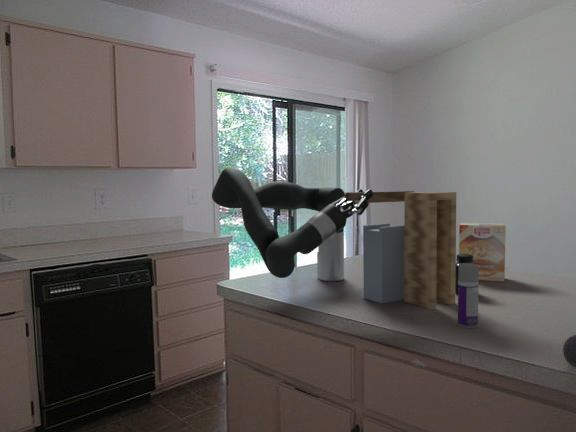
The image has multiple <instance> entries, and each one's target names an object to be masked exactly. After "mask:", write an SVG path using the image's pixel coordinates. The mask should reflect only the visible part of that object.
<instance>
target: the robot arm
mask: <svg viewBox="0 0 576 432" xmlns="http://www.w3.org/2000/svg"><path fill="white" fill-rule="evenodd" d="M211 192H212V193H211V199H212V201H213V202H214V203H215V204H216V205H218V206H221V207H223V208H228V209H240V210H241V216H242V222H243V226H244V228H245V231H246V232H247V235H248V236H249V238H250V239H251V241H252V243H253V244H254V246H256V248H257V250H258V251H259V252H258V253H259V254H260V256H261V258H262V260H263V263H264V264H265V267H266V269H267V270H268V272H269V273H270V274H271V275H272V276H274V277H275V278H278V279H279V278H280V279H285V278H288V277H289V276H291V275H292V274H293V272H294V270H295V267H296V266H295V256H296V255H297V254H298V253H299V254H301V255H308V254H310V253H312V252H313V251H314V250H316V249H317V248H318V250H317V252H316V255H317V257H316V260H317V262H316V263H317V266H316V267H317V268H316V269H317V278H318V279H319V280H321V281H325V282H336V281H337V282H338V281H343V280H344V279H345V240H344V239H345V237H344V236H345V235H344V234H345V233H344V230H345V227H346V226H347V219H349V218H350V217H352V216H353V215H355V214H357V215H358V216H361V215H363V213H365V211H366V209H367V208H368V207H369V206H370V203H368V200H369V199H370V198H371V197H373V195H374V194H373V192H374V191H373V190H372V189H370V188H369V189H368V190H366V191H363V189H362V188H360V189H358V190H356V191H355V192H365V193H364V194H362V195H361V196H360V197H358V198H357V199H352V200H350V201H348V202H346V199H345V191H344V190H343V189H342V188H340V187H333V186H332V187H330V186H329V187H303V186H301V185H299V184H297V183H295V182H294V183H293V182H288V181H281V180H276V181H272V182H269V183H265V184H263V185H261V186H259V187H257V188H254V187H253V185H252V183H251V181H250V179H249V178H248V176H247V175H246V174H245V173H244V172H243V171H242V170H240V169H237V168H235V167H226V168H224V169H222V171H221V173H220V174H219V176H218V179H217V180H216V183H215V185H214V187H213V189H212V191H211ZM359 200H360V201H359ZM358 201H359V202H358ZM353 202H354V203H353ZM264 209H274V210H282V211H283V210H285V211H287V210H288V211H293V210H294V211H295V210H301V209H304V210H305V209H306V210H311V211H316V212H317V213H315V214H314V215H313V216H312V217H310V218H309V220H307V221H306V222H305V223H303V225H301V226H300V227H299V228H297V229H296V230H295V231H292V232H289V233H287V234H284V235H283V236H280V235H279V232H278V230H277V229H276V227H275V226H274V224H273V223H272V222H271V220H270V219H269V217H268V216H267V215H266V213H265V211H264Z"/></svg>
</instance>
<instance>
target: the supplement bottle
mask: <svg viewBox="0 0 576 432" xmlns="http://www.w3.org/2000/svg"><path fill="white" fill-rule="evenodd" d="M472 262H473V255H469V254H459V253H458V254H456V282H455V295H458V272H459V264H460V263H472Z"/></svg>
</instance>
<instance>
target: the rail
mask: <svg viewBox="0 0 576 432" xmlns="http://www.w3.org/2000/svg"><path fill="white" fill-rule="evenodd" d="M365 192H366V191H363V192H356V191H353V192H352V191H350V192H347V191H346V192H345V191H344V193H345V199H346V202H348V201H350V200H352V199H357V198H358V197H360V196H361V195H362V194H364V193H365ZM372 192H373V194H374V195H373V197H371V198H370V199H369V200H368V203H369V204H371V203H376V204H377V203H395V202H397V203H398V202H401V203H402V202H405V193H410V192H416V191H413V190H411V191H410V190H401V191H400V190H396V191H391V190H389V191H372ZM359 201H360V200H359ZM359 201H358V202H359ZM353 203H354V202H353Z"/></svg>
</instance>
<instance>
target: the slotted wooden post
mask: <svg viewBox="0 0 576 432" xmlns="http://www.w3.org/2000/svg"><path fill="white" fill-rule="evenodd" d="M404 225H405V231H404V299H403V300H404V302H405V303H408V304H412V305H414V306H415V305H416V306H418V307H421V308H425V309H428V310H434V309H437V302H439V303H444V304H447V305H451V306H452V305H456V294H455V282H456V263H457V261H456V259H457V252H456V251H457V192H456V191H415V192H410V193H405V201H404Z"/></svg>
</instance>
